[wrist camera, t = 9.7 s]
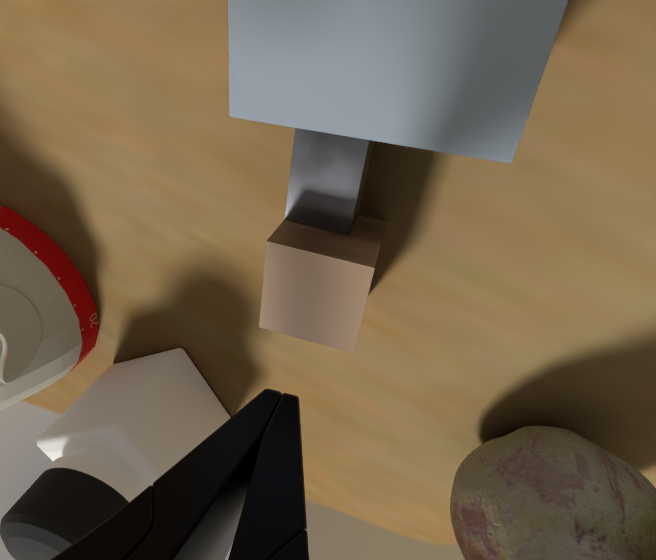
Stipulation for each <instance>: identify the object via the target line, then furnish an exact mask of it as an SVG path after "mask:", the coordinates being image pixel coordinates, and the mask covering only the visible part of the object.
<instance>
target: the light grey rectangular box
mask: <svg viewBox="0 0 656 560" xmlns="http://www.w3.org/2000/svg"><path fill="white" fill-rule="evenodd" d="M230 418H231V417H230V416H229V414H228V413H227V411H226V410H225V409H224V407H223V406H222V404H221V403H220V401H219V400H218V398H217V397H216V396H215V394H214V393H213V391H212V390H211V388H210V387H209V385H208V384H207V383H206V381H205V380H204V378H203V377H202V375H201V374H200V372H199V371H198V369H197V368H196V367H195V365H194V364H193V362H192V361H191V359H190V358H189V356H188V355H187V354H186V352H185V351H184V349H182V348H177V349H173V350H169V351H165V352H161V353H157V354H153V355H149V356H145V357H141V358H137V359H133V360H129V361H125V362H121V363H117V364H113V365H111V366H109V367H108V368H107V369H106V370H105V371H104V372H103V373H102V374H101V375H100V376H99V377H98V378H97V379H96V380H95V381H94V383H93V384H92V385H91V386H90V387H89V388H88V389H87V390H86V391H85V392H84V393H83V394H82V395H81V396H80V397H79V398H78V399H77V400H76V401H75V402H74V403H73V404H72V405H71V406H70V407H69V408H68V409H67V410H66V411H65V412H64V413H63V414H62V415H61V416H60V417H59V418H58V419H57V420H56V421H55V422H54V423H53V424H52V425H51V426H50V427H49V428H48V429H47V430H46V431H45V432H44V433H43V434H42V435H41V436H40V437H39V438H38V440H37V445H38V447H39V448H40V449H41V450H43V452H44V453H46V455H47V456H48V457H49V458H50V459H51V460H52V461H53V462H52V463H51V465H50V466H49V467H48V468H47V469H46V470H45V471H44V473H43V474H42V475H41V476H40V477H39V478H38V479H37V480H36V481H35V482H34V483H33V485H32V486H31V487H30V488H29V489H28V490H27V491H26V492H25V494H23V496H22V497H21V498H20V499H19V500H18V501H17V502H16V503H15V504H14V506H13V507H12V508H11V509H10V510H9V511H8V512H7V513H6V514H5V516H4V517H3V518H2V520H1V525H0V535H1V538H2V540H3V542H4V544H5V546H6V548H7V550H8V552H9V553H10V554H11V555H12V557H14V558H15V559H16V560H51V559H52V558H53V557H55V556H56V555H58V554H59V553H61V552H62V551H64V550H65V549H66V548H68V547H69V546H71V545H72V544H74V543H75V542H77V541H78V540H79V539H81V538H82V537H84V536H85V535H87V534H88V533H89V532H91V531H92V530H93V529H95V528H96V527H98V526H99V525H100V524H102V523H103V522H105V521H106V520H107V519H109V518H110V517H111V516H113V515H114V514H115V513H117V512H118V511H119V510H120V509H122V508H123V507H124V506H125V505H127V504H128V503H129V502H130V501H132V500H133V499H134V498H135V497H137V496H138V495H139V494H140V493H141V492H142V491H144V490H145V489H146V488H147V487H148V486H150V485H152V486H153V483H154V482H155V481H156V480H157V479H158V478H159V477H161V476H162V475H163V474H164V473H165V472H167V471H168V470H169V469H170V468H171V467H173V466H174V465H175V464H176V463H177V462H179V461H180V460H181V459H182V458H183V457H184V456H186V455H187V454H188V453H189V452H190V451H192V450H193V449H194V448H195V447H196V446H198V445H199V444H200V443H201V442H202V441H204V440H205V439H206V438H207V437H208V436H210V435H211V434H212V433H213V432H214V431H216V430H217V429H218V428H219V427H220V426H222V425H223V424H224V423H225V422H226V421H227V420H229V419H230Z"/></svg>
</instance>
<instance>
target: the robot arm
mask: <svg viewBox="0 0 656 560" xmlns="http://www.w3.org/2000/svg"><path fill="white" fill-rule="evenodd" d="M306 529H307V524H306V508H305V490H304V474H303V457H302V440H301V424H300V407H299V398H298V396H295V395H291V394H287V393H283V394H282V393H281V392H279V391H276V390H272V389H265V390H263V391H262V392H261V393H260V394H259V395H257V396H256V397H255V398H254V399H253V400H251V401H250V402H249V403H248V404H247V405H245V406H244V407H243V408H242V409H241V410H239V411H238V412H237V413H236V414H235V415H233V416H232V417H231V418H230V419H229V420H227V421H226V422H225V423H224V424H223V425H222V426H220V427H219V428H218V429H217V430H216V431H214V432H213V433H212V434H211V435H210V436H208V437H207V438H206V439H205V440H204V441H202V442H201V443H200V444H199V445H198V446H196V447H195V448H194V449H193V450H192V451H190V452H189V453H188V454H187V455H186V456H184V457H183V458H182V459H181V460H180V461H179V462H177V463H176V464H175V465H174V466H173V467H171V468H170V469H169V470H168V471H167V472H165V473H164V474H163V475H162V476H161V477H159V478H158V479H157V480H156V481H155V482H154V483H153V486H152V485H150V486H148V487H147V488H146V489H145V490H144V491H142V492H141V493H140V494H139V495H138V496H137V497H135V498H134V499H133V500H132V501H130V502H129V503H128V504H127V505H125V506H124V507H123V508H122V509H120V510H119V511H118V512H117V513H115V514H114V515H113V516H111V517H110V518H109V519H107V520H106V521H105V522H103V523H102V524H100V525H99V526H98V527H96V528H95V529H93V530H92V531H91V532H89V533H88V534H87V535H85V536H84V537H82V538H81V539H79V540H78V541H77V542H75V543H74V544H72V545H71V546H69V547H68V548H66V549H65V550H64V551H62V552H61V553H59V554H58V555H56V556H55V557H53V558H52V559H51V560H225V558H226V555H227V553H228V551H229V549H230V547H231V544H232V542H233V545H232V548H231V552H230V555H229V559H228V560H309V553H308V537H307V531H306ZM233 540H234V541H233Z"/></svg>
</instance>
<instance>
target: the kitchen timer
mask: <svg viewBox="0 0 656 560" xmlns="http://www.w3.org/2000/svg"><path fill="white" fill-rule="evenodd" d="M98 330H99V326H98V319H97V312H96V305H95V303H94V301H93V298H92V296H91V294H90V292H89V289H88V287H87V285H86V282H85V280H84V279H83V277H82V276H81V275H80V273H79V272H78V270H77V269H76V267H75V266H74V265H73V263H72V262H71V260H70V259H69V258H68V256H67V255H66V254H65V253H64V252H63V251H62V250H61V249H60V248H59V247H58V246H57V245H56V244H55V243H54V242H53V241H52V240H51V239H50V238H49V237H48V236H47V235H46V234H45V233H44V232H43V231H42V230H41V229H39V228H38V227H36V226H35V225H33V224H32V223H31V222H29V221H28V220H26V219H25V218H23V217H22V216H20V215H19V214H17V213H16V212H14V211H13V210H11V209H9V208H6V207H4V206H1V205H0V410H2V409H4V408H6V407H8V406H10V405H13V404H14V403H16V402H19V401H21V400H23V399H25V398H27V397H29V396H31V395H33V394H35V393H37V392H39V391H41V390H43V389H44V388H46V387H48V386H50V385H51V384H53V383H55V382H56V381H58V380H59V379H61V378H62V377H63V376H65V375H66V374H67V373H69V372H70V371H71V370H72V369H73V368H74V367H75V366H76V365H77V364H79V363H80V362H81V361H82V360H83V359H84V358H85V357H86V356H87V354H88V353H89V352H90V351H91V350H92V349H93V347H94V346H95V342H96V338H97V334H98Z"/></svg>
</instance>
